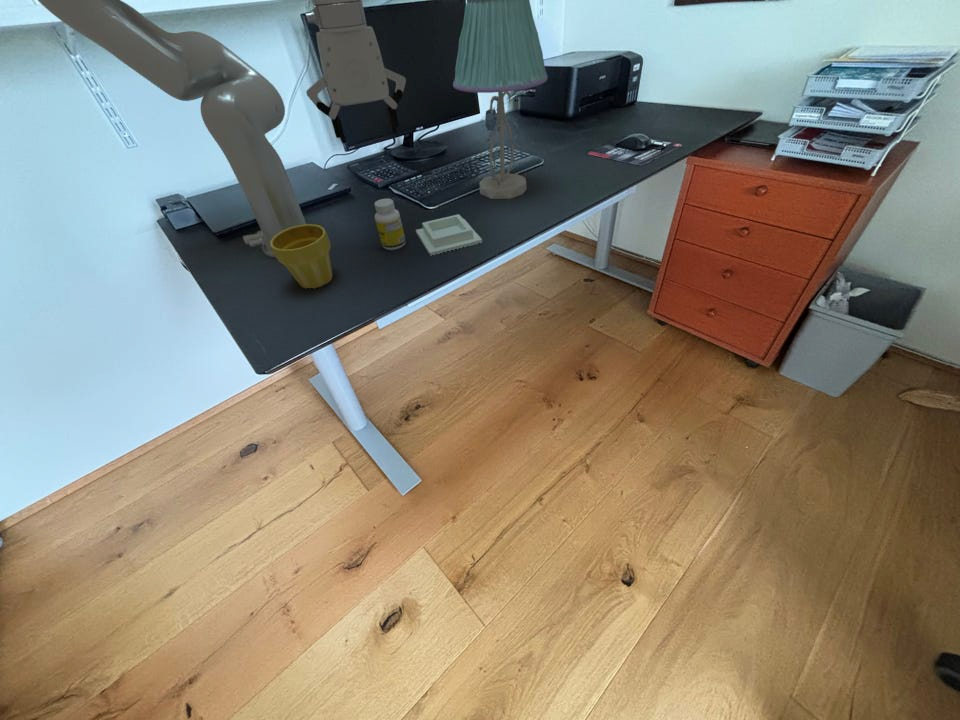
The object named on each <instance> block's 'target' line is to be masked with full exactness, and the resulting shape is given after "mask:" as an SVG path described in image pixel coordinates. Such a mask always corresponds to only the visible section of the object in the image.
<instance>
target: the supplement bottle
mask: <svg viewBox="0 0 960 720" xmlns="http://www.w3.org/2000/svg"><path fill="white" fill-rule="evenodd" d="M374 207H375V208H374V209H375V211H376V213H375V214H374V220H375V225H376V227H377V232H378V234H379V239H380V242H381V246H382V248H383V249H385V250H387V251H388V250H389V251H394V250H398V249H399V250H400V249H402V248H403V247H404V246H405V245H406V244H407V243H406V242H407V241H406V236H405V232H404V227H403V223H402V219H401V215H400V212H399V210H398V209H396V208H395V202H394V200H393V199H391V198H381V199H378V200H376V201H375V202H374Z"/></svg>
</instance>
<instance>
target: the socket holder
mask: <svg viewBox="0 0 960 720" xmlns="http://www.w3.org/2000/svg"><path fill="white" fill-rule="evenodd" d="M421 226H422V228H418V229H415V234H416V235H417V237H418V238H419V241H420V242H421V243H422V245H423V246H424V248H425V250H426V251H427V253H428V255H429V254H430V255H429V256H430V257H431V256H432V255H433V256H437V255H440V253H441V254H444V253H443V252H445V253H448V252H447V251H449V252H452V251H451V250H453V251H455V249H457V250H460V249H463V247H464V248H467V246H468V247H471V246H476V245H479V243H480V244H482V243H483V239H482V238H481V236H480V235H479V234H478V233H477V232H476V231H475V229H473V228H472V226H471V224H469V222H467V220H466V219H465V218H463V217H462V216H461V215H460V214H454V215H450V216H447V217H446V216H445V217H442V218H437V219H433V220H428V221H425V222H422V223H421ZM459 248H460V249H459ZM436 254H437V255H436ZM433 256H432V257H433Z"/></svg>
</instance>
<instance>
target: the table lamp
mask: <svg viewBox="0 0 960 720" xmlns="http://www.w3.org/2000/svg"><path fill="white" fill-rule="evenodd" d="M530 1H531V0H466V4H465V7H464V17H463V21H462V23H463V24H462V28H461V32H460V36H459V40H458V50H457V56H456V60H455V61H456V62H455V69H454V71H455V74H454V79H453V83H452V86H453V89H455V90H457V91H461V92H467V93H478V94H479V93H480V94H481V93H482V94H483V93H484V94H488V93H489V94H490V93H491V94H493V93H497V95H494V96H492V97H491V99H490V101H489V102H490V105H489V109H488V110H486V111H485V127H486V130H487V131H488V132H489V131H490V132H489V135H488V138H487V139H486V141H485V147H486V150H487V152H488V153H489V171H490V173H491V175H488V176H485V177H483V179H481V181H479V182H478V183H479V194H480V195H481V196H484V197H486V198H488V199H490V200H502V199H503V200H504V199H505V200H511V199H514V198H517V197H519V196H522V195H523V194H524V193H525V192H526V191H527V190H528V187H527V180H526V177H525V176H522V175H521V174H519V173H518V174H517V173H510V171H512V170H514V168H515V166H514V165H515V161H516V160H515V158H514V151H515V147H514V146H515V145H514V142H515V141H516V139H517V138H518V137H517V136H518V132H519V126H518V123H516V122H515V119H514V118H511V117H509V116H508V114H507V112H506V111H505V101H504V98H505V96H506V95H507V96H508V103H509V105H510V103H511V97H512V96H511V94H510V92H512V91H514V92H515V91H520V90H526V89H530V88H533V87H537V86H540V85H542V84H544V83H546V82H547V80H548V78H549V77H548V73H547V71H546V67H545V61H544V60H545V59H544V55H543V49H542V45H541V41H540V37H539V33H538V29H537V26H536V23H535V22H536V21H535V20H534V17H533V11H532V7H531V3H530ZM495 101H496V108H495V107H494V106H493V103H494V102H495ZM509 123H510V124H512V125H514V126H516V134H515V136H514V138H513V132H512V129H511V127H510V124H509ZM504 124H505V126H504ZM505 127H506V129H507V132H508V135H509V137H510V141H509V140H508V141H507V147H508V148H509V150H510V161H509V162H510V163H509V165H508V168H507V171H506V167H505V162H506V161H505V134H504V133H505V132H504V131H505ZM497 131H498V132H499V137H498V138H499V153H498V149H497V148H496V150H495V152H493V150H494V145H495V140H496V136H497ZM490 140H491V142H490V149H489V147H488V143H489V141H490ZM498 156H499V157H498ZM497 158H499V166H500V167H499V168H500V169H499V170H500V173H495V169H496V164H497V163H496V162H497V161H496V160H497Z"/></svg>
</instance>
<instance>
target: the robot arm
mask: <svg viewBox="0 0 960 720" xmlns="http://www.w3.org/2000/svg"><path fill="white" fill-rule="evenodd" d="M37 2H39V3H40V4H41V5H42V6H43V7H44V8H45V9H46V10H47V11H48V12H49V13H51V14H52V15H54V16H55V17H56V18H57V19H59V21H61V22H63V24H64V23H65V25H67V26H69V28H71V29H73V30H74V31H76V32H77V33H79V34H80V35H81V36H84V37H85V38H87V39H88V40H90V41H92V42H93V43H95V44H96V45H98V46H99V47H101V48H102V49H104V50H106V51H107V52H108V53H109V54H111V55H112V56H114V57H115V58H117V60H119V61H121V62H122V63H123V64H125V65H126V66H127V67H129V68H130V69H132V70H133V71H134V72H136V73H137V74H138V75H140V76H141V77H143V78H144V79H146V80H147V81H149V82H150V83H151V84H153V85H154V86H156V87H157V88H158V89H160V90H161V91H163V92H164V93H166V94H167V95H169V96H170V97H172V98H174V99H176V100H179V101H182V102H190V101H194V100H198V99H200V98H202V99H201V102H200V115H201V118H202V121H203V123H204V125H205V128H206V129H207V131H208V133H210V135H211V137H212V138H213V139H214V142H216V143H217V145H218V147H219V148H220V150H221V151H222V153H223V154H224V157H225V158H226V160H227V162H228V163H229V165H230V166H229V167H231V169H232V172H233V174H234V175H235V178H236V180H237V183H238V184H239V186H240V188H241V190H242V192H243V194H244V196H245V198H246V201H247V203H248V205H249V207H250V209H251V211H252V213H253V215H254V218H255V219H256V222H257V224H258V226H259V228H260V230H259V231H256V233H254V234H247V235H243V236H242V239H243V241H244V243H245V245H246V246H247V245H249V246H250V247H251V248H252V247H257V246H260V245H261V249H262V252H263V253H264V254H265V255H266V256H268V257H270V258H275V259H277V258H276V256H275V254H274V252H273V250H272V248H271V246H270V241H271V239H272V238H273V237H274V236H275V235H276V234H278V233H279V232H281V231H283V230H285V229H288V228H291V227H294V226H298V225H304V224H307V222H306V219H305V217H304V215H303V212H302V210H301V207H300V204H299V202H298V198H297V196H296V194H295V191H294V189H293V185H292V183H291V181H290V178H289V176H288V172H287V170H286V168H285V165H284V164H283V161H282V158H281V157H280V155H279V153H278V152H277V150H276V149H275V147H274V146H273V145H272V144H271V142H270V141H269V140H268V138H267V136H266V134H268V133H270V132H271V131H273V130H274V129H275V128H278V126H279V125H280V124H281V123H282V122H283V121H284V118H285V115H286V108H285V104H284V100H283V98H282V96H281V94H280V93H279V91H278V89H277V88H276V87H275V86H274V84H273V83H272V82H270V81H269V80H268V79H267V78H266V77H265V76H263V74H261V73H260V72H259V71H258V70H256V69H255V68H253V67H252V66H251V65H250V64H248V63H247V62H246V61H244V60H243V59H242V58H241V57H239V56H238V54H236V53H235V52H234V51H232V50H230V49H229V48H228V47H227V46H225V44H223V43H222V42H220V41H219V40H218V39H215V38H214V37H212V36H210V35H208V34H206V33H202V32H200V31H195V30H191V31H187V30H186V31H181V32H169V31H166V30H165V29H163V28H161V27H159V26H158V25H156V24H155V23H153V22H152V21H151V20H149V19H148V18H146V17H145V16H144V15H143V14H142V13H140V12H139V11H138V10H137V9H135V8H134V7H133V6H131V5H129V4H128V3H126V2H125V1H123V0H37ZM311 3H312V9H311V10H309V11H306V12H305V16H306V19H307V23H308V24H313V25H316V26H318V28H319V31H316V33H315V35H316V42H317V43H316V44H317V49H318V53H319V59H320V65H321V70H322V74H323V75H322V76H321V77H320V78H319V79H318V80H317V81H315V82H314V83H313V84H312V85H311V86H310V87H309V88H308V89H307V90H306V91H305V93H306V96H307V97H308V99H309V100H310V101H311V102H312V103H313V104H314V106H315V107H316V108H317V109H318V110H319V111H320V112H321V113H323V114H324V115H326V116H327V117H328V118H330V120H331V123H332V127H333V131H334V134H335V138H336V139H339V138H340V142H341V143H342V144H346V143H347V140H346V136H345V133H344V129H343V125H342V121H341V119H340V117H339V115H338V113H339V112H340V111H339V110H340V108H341V107H345V106H352V105H359V104H366V103H372V102H376V101H381V100H383V101H384V102H385V103H386V108H385V110H386V116H387V120H388V127H389V130H390V132H391V133H392V134H393V135H398V130H397V128H399V127H400V125H399V119H398V113H397V108H398V105H399V103H400V101H401V100H402V98H403V95H404V91H405V86H406V82H407V79H406V77H405V76H403V75H401V74H399V73H396V72H394V71H392V70H390V69H388V68H386V67H385V65H384V62H383V58H382V53H381V50H380V46H379V43H378V41H377V36H376V34H375V31H374V28H373V26H371V25H369V26H368V25H367V20H366V14H365V9H364V5H363V1H362V0H311ZM388 80H391V81H393V82H395V89H394V91H393V93H392V94H391V96H390V89H389V85H388V84H389V83H388ZM325 88H326V89H327V93H328V95H329V97H330V100H331V101H330V103H329V105H327V104H325V102H323V101H322V100H321V99H320V98H319V95H318V94H320V93H321V92H322V91H323V90H324V89H325Z"/></svg>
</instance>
